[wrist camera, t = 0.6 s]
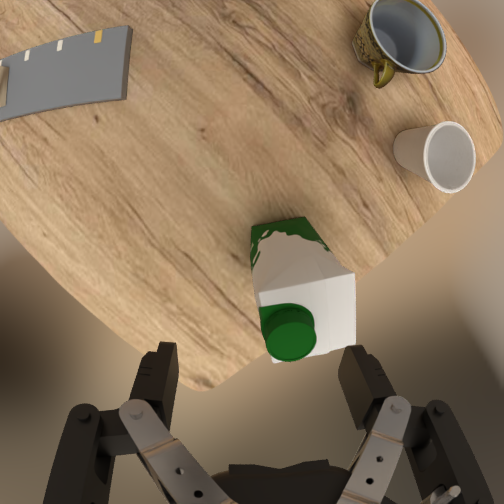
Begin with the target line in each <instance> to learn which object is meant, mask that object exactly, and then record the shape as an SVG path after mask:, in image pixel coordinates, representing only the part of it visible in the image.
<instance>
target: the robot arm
mask: <svg viewBox="0 0 504 504" xmlns="http://www.w3.org/2000/svg"><path fill="white" fill-rule="evenodd" d="M178 376H179V365H178V355H177V345H176V343H173V342H161V341H160V343H159V346H158V349H157V352H151V351H148V352H147V353H146V355H145V356H144V357H143V358H142V360H141V363H140V366H139V369H138V372H137V375H136V379H135V381H134V385H133V388H132V391H131V394H130V398H129V400H128V401H126V402H125V403H124V404H122V405H121V407H120V408H118V409H115V410H107V411H98V409H97V408H96V407H95V406H93V405H91V404H79V405H77V406H75V407H73V408H72V409H71V411H70V413H69V415H68V418H67V421H66V424H65V427H64V430H63V433H62V436H61V439H60V442H59V446H58V449H57V452H56V456H55V459H54V463H53V466H52V469H51V473H50V477H49V481H48V485H47V489H46V493H45V497H44V501H43V504H108V501H109V493H110V487H111V480H112V474H113V468H114V462H115V456H116V455H126V454H136V455H137V457H138V458H139V460H140V462H141V463H142V465H143V466H144V468H145V469H146V471H147V472H148V474H149V475H150V477H151V478H152V479H153V481H154V483H155V484H156V486H157V488H158V489H159V491H160V492H161V493H162V495H163V496H164V498H165V499H166V501H167V502H168V503H169V504H396V503H395V502H393V501H392V500H390V499H389V498H387V497H386V496H384V494H385V492H386V489H387V487H388V485H389V482H390V480H391V477H392V475H393V472H394V469H395V467H396V465H397V462H398V459H399V456H400V453H401V451H402V448H403V447H404V448H405V451H406V453H407V456H408V459H409V462H410V465H411V468H412V471H413V474H414V477H415V480H416V483H417V486H418V489H419V492H420V495H421V498H422V502H421V503H420V504H494V501H493V498H492V496H491V493H490V491H489V488H488V486H487V483H486V481H485V479H484V476H483V474H482V472H481V470H480V467H479V465H478V463H477V461H476V459H475V456H474V454H473V452H472V450H471V448H470V446H469V444H468V442H467V440H466V438H465V436H464V434H463V432H462V430H461V428H460V426H459V424H458V422H457V420H456V418H455V416H454V414H453V412H452V411H451V409H450V407H449V406H448V404H446V403H445V402H443V401H441V400H432V401H430V402H429V403H428V404H427V406H426V407H416V406H411V405H410V404H409V402H408V401H407V400H406V399H404V398H402V397H399V396H397V395H396V393H395V391H394V389H393V387H392V385H391V383H390V381H389V379H388V378H387V376H386V374H385V372H384V370H383V369H382V366H381V364H380V363H379V361H378V360H377V359H376V358H375V357H374V356H373V355H372V354H367V353H366V351H365V349H364V347H363V346H362V345H348V346H346V348H345V350H344V354H343V357H342V360H341V363H340V366H339V370H338V378H339V381H340V384H341V387H342V390H343V392H344V395H345V397H346V401H347V403H348V406H349V409H350V412H351V415H352V418H353V420H354V423H355V426H356V429H357V430H361V429H365V430H366V432H367V433H366V435H365V437H364V438H363V441H362V442H361V444H360V447H359V449H358V451H357V453H356V455H355V457H354V458H353V461H352V462H351V464H350V466H349V467H348V469H347V470H345V469H343V468H340V467H336V466H330V465H329V462H328V460H327V459H326V460H317V461H309V462H302V463H300V464H296V465H293V466H290V467H286V468H282V469H277V468H271V467H265V466H259V465H235V464H231V465H230V464H229V470H228V471H224V472H220V473H217V474H215V475H212V476H209V475H208V474H207V472H206V471H205V470H204V469H203V468H202V467H201V466H200V465H199V463H198V462H197V461H196V460H195V458H194V457H193V456H192V455H191V454H190V453H189V451H188V450H187V449H186V447H185V446H184V445H183V444H182V442H181V441H180V440H179V439H174V438H173V436H172V435H171V434H170V432H169V431H170V425H171V418H172V412H173V406H174V400H175V394H176V388H177V382H178Z"/></svg>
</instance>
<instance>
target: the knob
mask: <svg viewBox="0 0 504 504" xmlns="http://www.w3.org/2000/svg"><path fill="white" fill-rule="evenodd" d="M8 73H9V67H4V66H0V107H3V106H6V93H7V82H8Z"/></svg>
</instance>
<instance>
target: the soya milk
mask: <svg viewBox="0 0 504 504" xmlns="http://www.w3.org/2000/svg"><path fill="white" fill-rule="evenodd" d="M250 259H251V270H252V278H253V287H254V295H255V300H256V304H257V308H258V312H259V316H260V320H261V321H260V323H261V331H262V335H263V337H264V340H265V343H266V348H267V351H268V352H269V354H270V356H271V360H272V362H273V363H278V362H283V361H285V362H291V361H296V360H300V359H302V358H304V357H309V356H314V355H322V354H326V353H329V352H330V351H331V350H336V349H340V348H344V347H346V346H348V345H355V344H356V295H355V273H354V272H352V271H350V270H349V269H347V268H345V267H343V266H342V265H341V264H340V262H339V261H338V260H337V258H336V257H335V256H334V254H333V253H332V252H331V251H330V249H329V248H328V247H327V245H326V244H325V243H324V241H323V240H322V239H321V237H320V236H319V235H318V233H317V232H316V231H315V229H314V228H313V227H312V226H311V224H310V223H309V222H308V220H307V219H306V218H305V217H300V218H295V219H289V220H284V221H279V222H273V223H268V224H263V225H258V226H252V230H251V249H250Z"/></svg>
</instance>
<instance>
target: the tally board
mask: <svg viewBox="0 0 504 504" xmlns="http://www.w3.org/2000/svg"><path fill="white" fill-rule="evenodd" d="M132 32H133V29H132V28H131V27H129V26H128V25H126V26H120V27H114V28H108V29H103V30H98V31H93V32H88V33H84V34H79V35H75V36H71V37H67V38H63V39H60V40H56V41H53V42H49V43H46V44H43V45H40V46H36V47H33V48H30V49H27V50H25V51H22V52H19V53H16V54H14V55H11V56H8V57H6V58H3V59H1V60H0V66H4V67H9V73H8V82H7V93H6V106H3V107H0V122H2V121H6V120H9V119H13V118H17V117H21V116H26V115H30V114H35V113H39V112H44V111H49V110H54V109H60V108H66V107H72V106H78V105H85V104H92V103H100V102H108V101H117V100H126V96H127V81H128V69H129V58H130V48H131V40H132Z"/></svg>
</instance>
